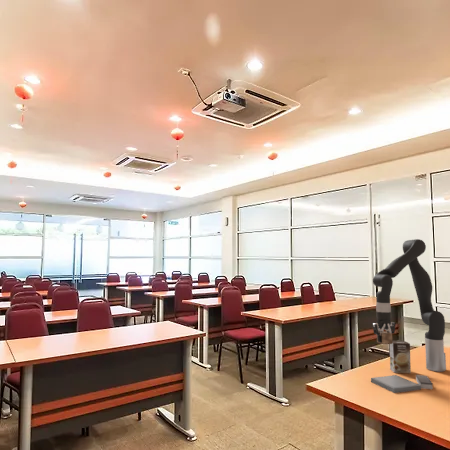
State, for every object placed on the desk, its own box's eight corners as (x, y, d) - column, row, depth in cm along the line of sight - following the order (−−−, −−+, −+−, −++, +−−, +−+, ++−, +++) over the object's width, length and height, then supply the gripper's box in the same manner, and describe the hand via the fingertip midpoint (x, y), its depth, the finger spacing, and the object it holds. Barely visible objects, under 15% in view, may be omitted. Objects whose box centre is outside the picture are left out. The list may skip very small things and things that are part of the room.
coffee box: (394, 372, 202) (393, 343, 204) (389, 369, 209) (389, 340, 210) (411, 373, 201) (410, 343, 203) (406, 369, 208) (405, 341, 209)
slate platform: (396, 378, 192) (396, 374, 192) (421, 389, 177) (420, 385, 177) (371, 381, 187) (370, 377, 187) (394, 393, 172) (394, 388, 172)
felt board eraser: (416, 381, 190) (415, 374, 190) (426, 382, 189) (426, 375, 189) (421, 388, 179) (420, 382, 179) (432, 390, 177) (432, 383, 177)
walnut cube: (385, 341, 204) (384, 331, 204) (392, 343, 199) (392, 333, 199) (377, 342, 202) (376, 332, 203) (384, 344, 197) (383, 334, 198)
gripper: (389, 309, 208) (390, 339, 206) (368, 310, 203) (369, 341, 202) (399, 311, 201) (400, 342, 199) (377, 312, 196) (378, 344, 195)
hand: (384, 341), depth 201 cm, fingers closed on walnut cube, 5 cm apart
